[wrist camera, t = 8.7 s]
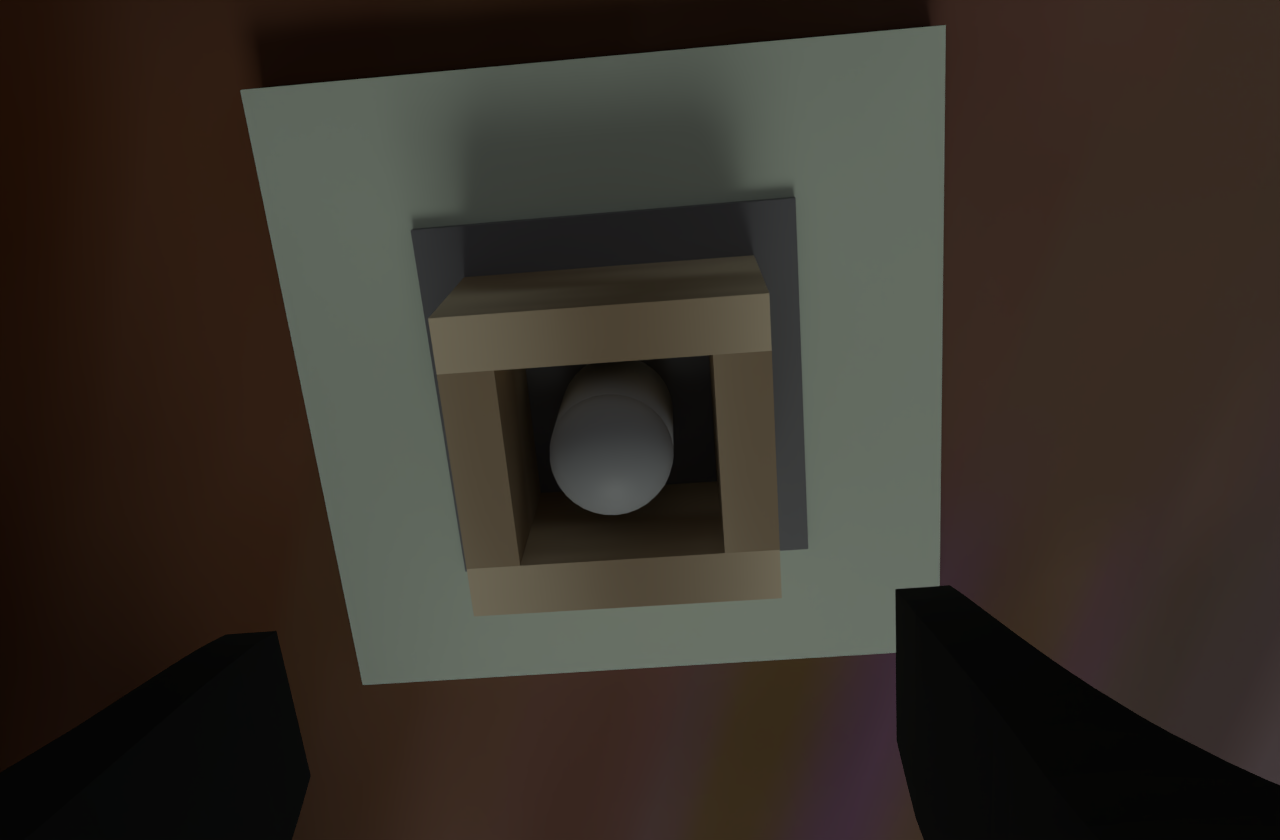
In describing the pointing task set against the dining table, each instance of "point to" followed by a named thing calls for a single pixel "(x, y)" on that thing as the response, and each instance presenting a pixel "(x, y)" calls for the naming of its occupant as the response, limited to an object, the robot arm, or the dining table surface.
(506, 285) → the collar
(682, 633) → the pin board
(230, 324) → the dining table surface
